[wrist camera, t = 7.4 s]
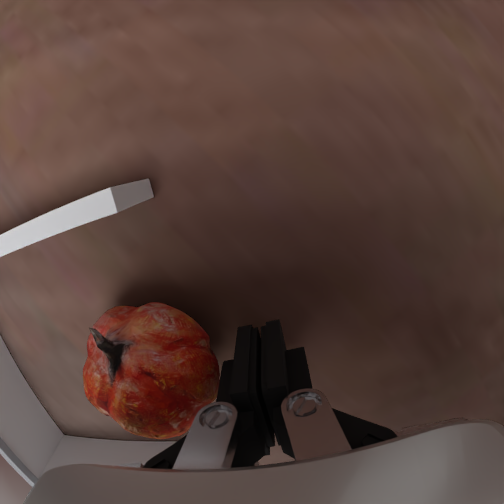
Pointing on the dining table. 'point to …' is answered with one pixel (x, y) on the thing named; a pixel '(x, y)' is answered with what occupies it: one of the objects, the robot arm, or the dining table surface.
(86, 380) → the pomegranate
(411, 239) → the dining table surface
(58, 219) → the box
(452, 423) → the robot arm
